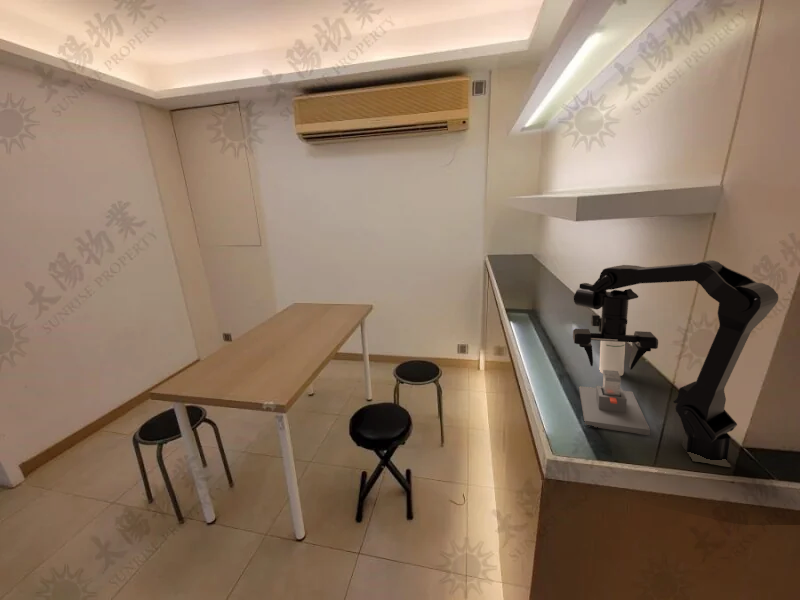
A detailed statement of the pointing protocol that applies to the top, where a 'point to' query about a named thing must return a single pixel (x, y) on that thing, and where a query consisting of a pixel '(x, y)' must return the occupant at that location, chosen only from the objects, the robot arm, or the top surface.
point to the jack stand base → (612, 411)
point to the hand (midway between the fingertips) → (610, 367)
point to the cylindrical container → (612, 356)
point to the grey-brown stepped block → (611, 383)
